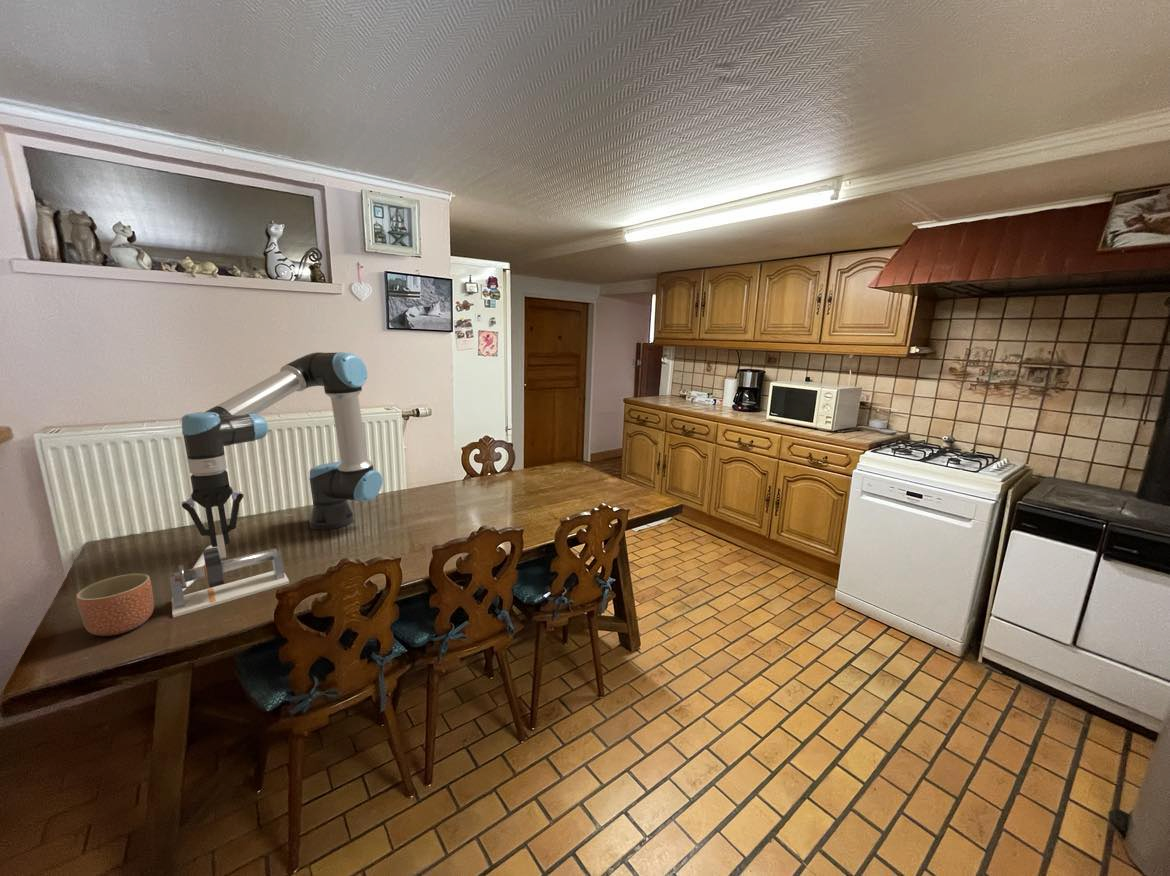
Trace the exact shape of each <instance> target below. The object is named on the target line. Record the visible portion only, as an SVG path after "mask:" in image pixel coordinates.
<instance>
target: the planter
mask: <svg viewBox="0 0 1170 876" xmlns="http://www.w3.org/2000/svg"><path fill="white" fill-rule="evenodd" d="M75 598H76V599H75V601H76V603H77V607H78V611H79V614H80V616H81V620H82V624H83V625H84V628H85V630H86V631H87V632H89V633H90V634H91V635H95V636H100V637H113V636H117V635H122V634H125V633H129V632H130V631H133V630H135V629H137V628H139V627H140V626H142V625H143V624H144V623H145V622H147V620H149V618H150V617H151V616H152V614H153V612H154V608H155V601H154V595H153V587H152V581H151V577H150V575H148V574H146V573H137V572H136V573H128V574H121V575H117V576H116V575H115V576H111V577H109V578H104V579H102V580H99V581H96V582H93V583H92V584H90V585H87V586H86V587H85V586H84V587H83V588H82V589H80V590H78V592H77V593H76V595H75Z"/></svg>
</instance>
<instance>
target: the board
mask: <svg viewBox="0 0 1170 876" xmlns="http://www.w3.org/2000/svg"><path fill="white" fill-rule="evenodd" d="M284 575H285V578H281V579H278V580H277V579H276V577H275V576H274V570H271V571H267V572H265V573H264V572H263V573H261V574H260V573H259V574H257V575H254V576H249V577H246V578H243V579H238V580H234V581H231V582H227V583H224V584H223V585H219V586H215V587H212V588H210V587H209V588H206V589H201V590H198V591H194V592H191V593H187V594H183V595H184V600H185V606H183V607H180V608H176V609H175V607H174V602H173V597H172V598H171V611H172V612H171V613H172V618H176V617H179V616H183V615H187V614H191V613H194V612H197V611H200V610H203V609H207V608H210V607H214V606H217V605H220V604H224V603H228V602H231V601H234V600H238V599H241V598H244V597H247V596H252V595H255V594H258V593H262V592H265V591H269V590H271V589H275V588H279V587H282V586H284V585H288V584H290V580H289V577H288V576H287V575H286V573H285V572H284Z"/></svg>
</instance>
